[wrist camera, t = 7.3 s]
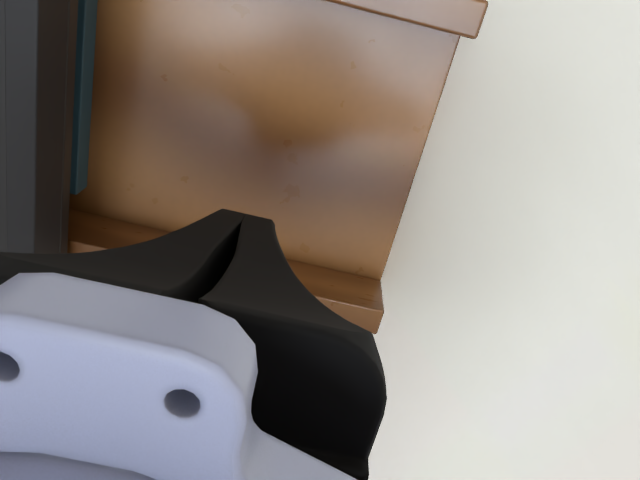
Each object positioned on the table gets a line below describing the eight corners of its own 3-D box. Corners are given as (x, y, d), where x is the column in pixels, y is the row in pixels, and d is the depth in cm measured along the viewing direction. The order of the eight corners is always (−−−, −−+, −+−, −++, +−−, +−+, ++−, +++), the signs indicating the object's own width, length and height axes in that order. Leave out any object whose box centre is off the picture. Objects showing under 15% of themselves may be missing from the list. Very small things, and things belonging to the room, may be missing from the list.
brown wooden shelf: (373, 291, 22) (376, 335, 19) (-196, 161, 21) (-278, 188, 18) (467, -2, 17) (490, 1, 15) (-258, -194, 16) (-381, -230, 13)
